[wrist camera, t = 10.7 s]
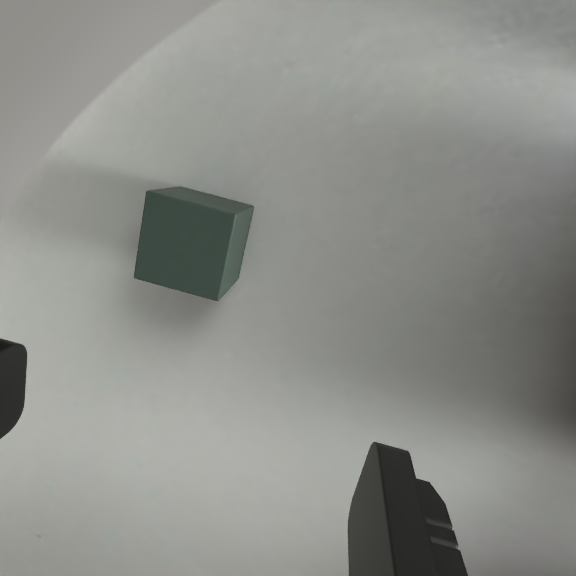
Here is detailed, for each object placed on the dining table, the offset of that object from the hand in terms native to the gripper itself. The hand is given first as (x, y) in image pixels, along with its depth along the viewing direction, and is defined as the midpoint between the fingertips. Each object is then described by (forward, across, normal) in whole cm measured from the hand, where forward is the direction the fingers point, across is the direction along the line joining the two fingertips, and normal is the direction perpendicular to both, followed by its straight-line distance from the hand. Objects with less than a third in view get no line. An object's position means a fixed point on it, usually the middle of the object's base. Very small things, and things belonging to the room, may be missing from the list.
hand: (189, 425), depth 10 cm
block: (+16, +4, -1) cm, 17 cm away
